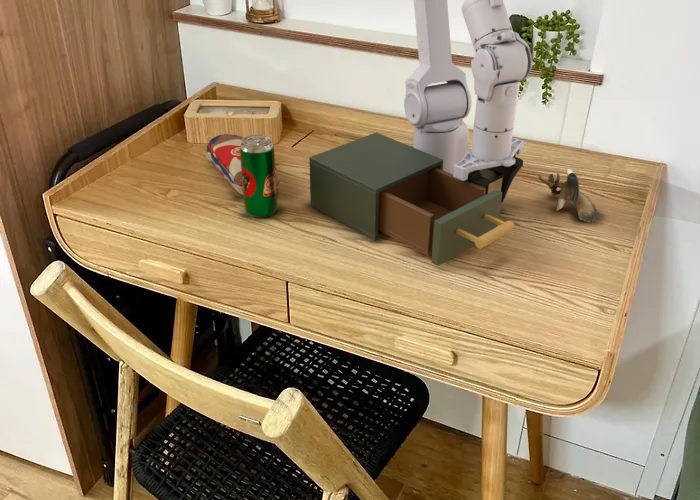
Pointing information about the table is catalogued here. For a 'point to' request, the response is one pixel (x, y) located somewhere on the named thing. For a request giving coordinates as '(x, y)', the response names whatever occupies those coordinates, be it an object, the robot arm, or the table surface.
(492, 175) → the metal-capped square post
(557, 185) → the eagle figurine
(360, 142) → the cabinet
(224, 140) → the pencil case
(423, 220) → the drawer
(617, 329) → the table surface
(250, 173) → the soda can
